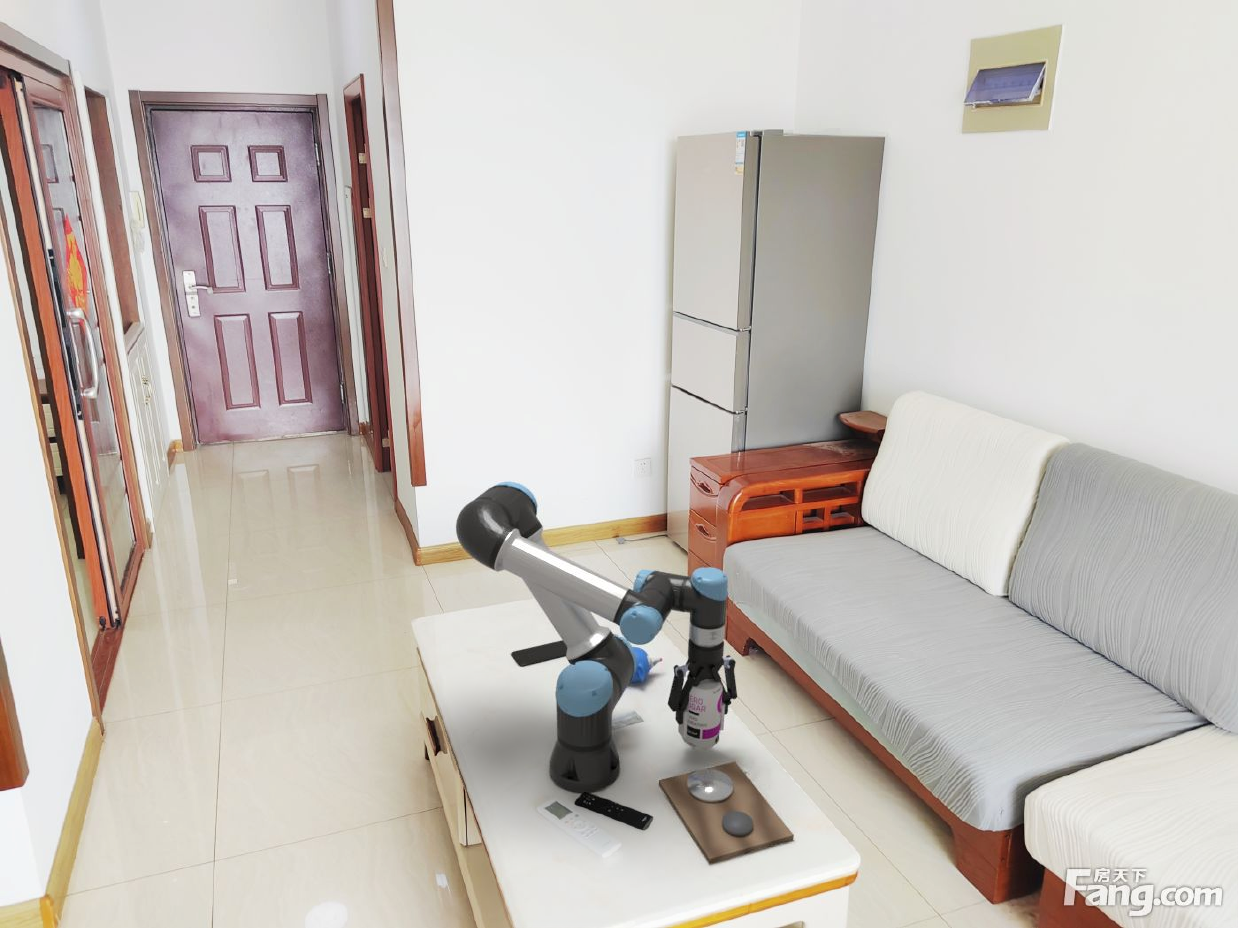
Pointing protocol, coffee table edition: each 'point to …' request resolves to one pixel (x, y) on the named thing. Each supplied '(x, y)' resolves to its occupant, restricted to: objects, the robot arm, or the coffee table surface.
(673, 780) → the walnut board
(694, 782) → the large steel flange
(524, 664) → the smartphone
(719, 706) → the supplement can
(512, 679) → the coffee table surface
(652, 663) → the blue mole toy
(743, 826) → the grey disc
